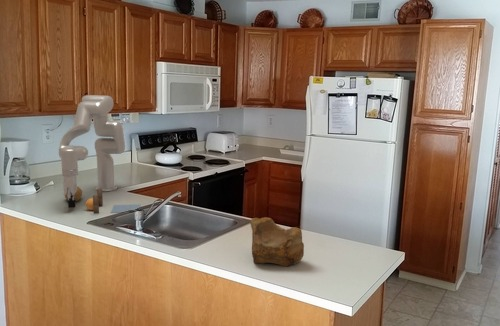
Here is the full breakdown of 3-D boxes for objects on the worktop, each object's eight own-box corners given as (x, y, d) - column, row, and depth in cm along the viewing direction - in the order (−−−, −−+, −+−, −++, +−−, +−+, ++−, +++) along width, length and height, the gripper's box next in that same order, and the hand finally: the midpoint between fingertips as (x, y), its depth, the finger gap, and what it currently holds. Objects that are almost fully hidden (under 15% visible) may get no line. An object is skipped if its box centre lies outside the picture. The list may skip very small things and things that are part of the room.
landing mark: (114, 205, 251) (114, 205, 251) (140, 204, 253) (140, 204, 253) (110, 212, 237) (110, 212, 237) (138, 212, 239) (138, 211, 239)
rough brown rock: (232, 261, 180) (231, 225, 176) (257, 246, 193) (257, 212, 189) (283, 279, 167) (283, 241, 163) (306, 261, 179) (307, 225, 175)
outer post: (94, 212, 238) (93, 195, 236) (99, 212, 238) (98, 195, 236) (93, 213, 235) (92, 196, 233) (98, 213, 236) (97, 196, 234)
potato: (65, 204, 251) (64, 190, 249) (63, 198, 263) (62, 184, 261) (84, 202, 255) (84, 188, 253) (81, 196, 267) (80, 183, 266)
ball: (101, 203, 245) (92, 211, 245) (92, 195, 244) (84, 203, 244) (99, 205, 239) (90, 213, 239) (90, 196, 238) (82, 205, 238)
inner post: (98, 205, 250) (97, 188, 249) (103, 205, 251) (102, 188, 249) (97, 206, 248) (96, 190, 246) (102, 206, 248) (101, 190, 247)
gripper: (65, 169, 244) (67, 203, 247) (58, 175, 229) (60, 211, 233) (80, 169, 245) (82, 203, 248) (74, 175, 231) (76, 211, 234)
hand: (71, 207), depth 241 cm, fingers closed
